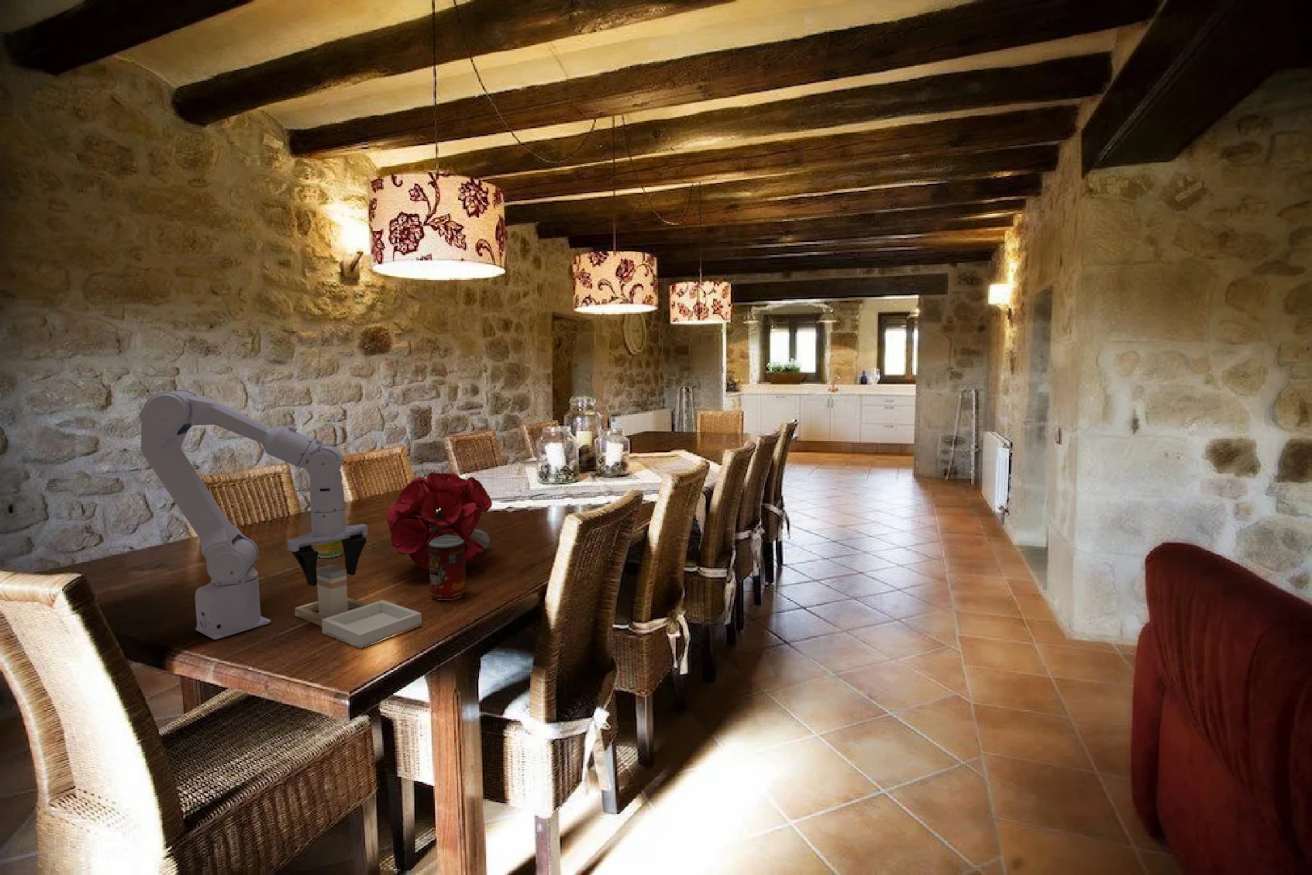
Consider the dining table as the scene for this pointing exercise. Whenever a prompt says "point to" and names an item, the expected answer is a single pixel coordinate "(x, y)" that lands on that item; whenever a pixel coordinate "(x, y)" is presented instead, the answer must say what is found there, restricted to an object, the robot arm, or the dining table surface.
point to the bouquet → (438, 515)
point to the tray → (370, 623)
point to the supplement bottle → (329, 549)
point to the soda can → (447, 567)
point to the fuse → (332, 590)
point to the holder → (308, 609)
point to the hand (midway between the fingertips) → (331, 579)
